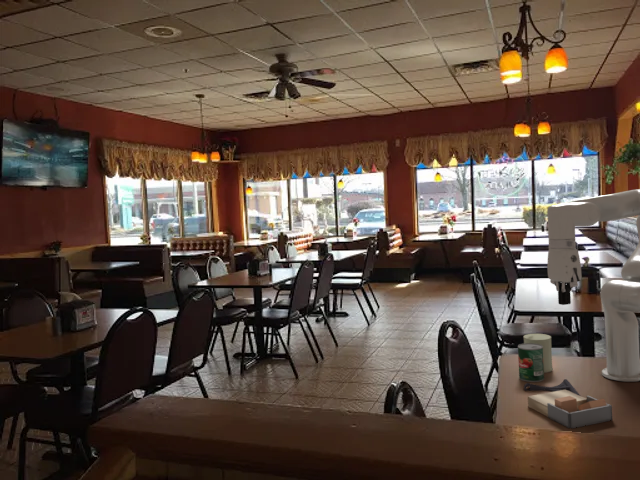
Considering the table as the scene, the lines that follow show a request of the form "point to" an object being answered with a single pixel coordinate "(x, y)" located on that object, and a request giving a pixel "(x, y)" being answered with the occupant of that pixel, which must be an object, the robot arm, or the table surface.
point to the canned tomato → (531, 362)
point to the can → (546, 343)
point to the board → (551, 400)
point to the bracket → (563, 386)
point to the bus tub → (580, 415)
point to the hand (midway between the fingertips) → (564, 304)
